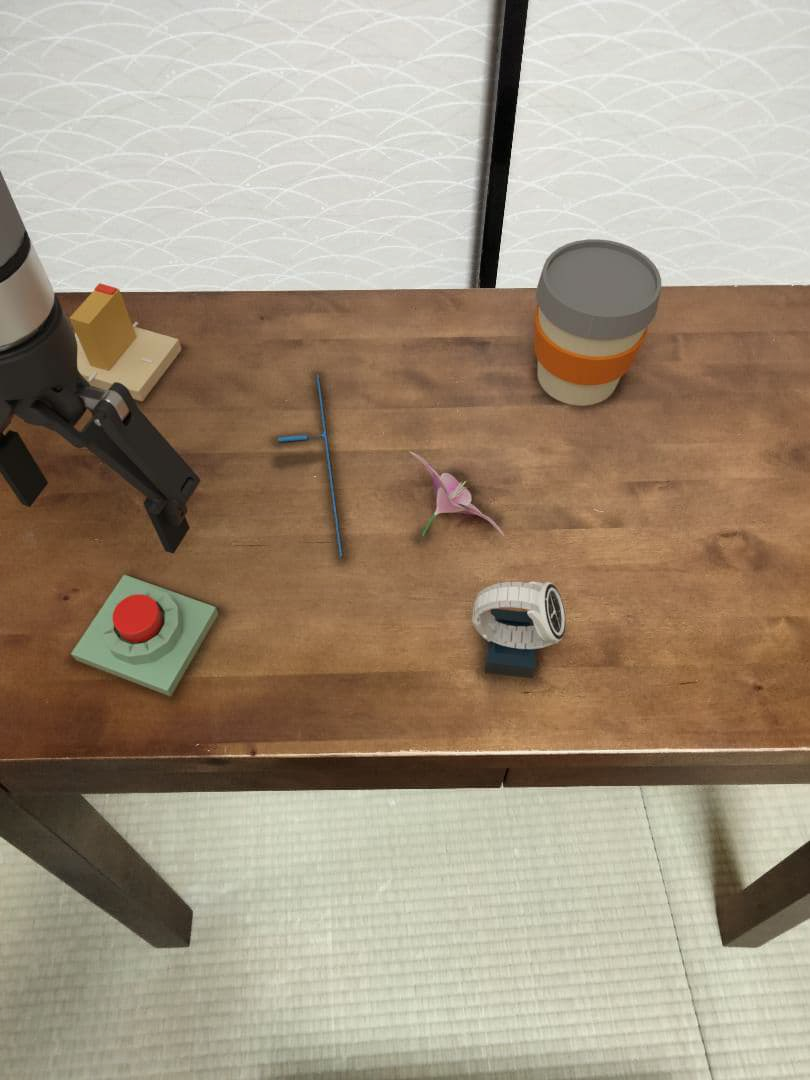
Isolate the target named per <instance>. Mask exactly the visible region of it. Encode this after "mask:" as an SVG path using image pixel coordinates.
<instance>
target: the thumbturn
mask: <svg viewBox="0 0 810 1080" xmlns="http://www.w3.org/2000/svg"><path fill="white" fill-rule="evenodd" d="M69 320H70V324H71V325H72V327H73V328H72V329H73V331H74V333H75V332H76V334H77V337H78V339H79V341H80V343H81V346H82V348H83V350H84V352H85V355H86V357H87V359H88V361H89V364H90V365H91V366H94V367H97V368H101V369H104V370H107V371H109V370H110V369H111V368H112V366H113V365H114V364H115V363H116V361H117V360H118V359H119V358H120V357H121V355H122V354H123V353H124V352H125V350H126V349H127V348H128V347H129V346H130V344H131V343H132V342H133V341H134V339H135V338H136V334H135V331H134V328H133V326H132V325H133V324H132V320H131V318H130V314H129V312H128V310H127V307H126V304H125V301H124V298H123V295H122V293H121V290H120V288H117V287H115V286H111V285H107V284H104V283H101V282H99V283H98V284H97V285H96V286H95V288H94V290H92V292H91V293H90V294H89V296H88V297H87V298H85V300H84V301H83V302H82V303H81V304H80V305H79V306H78V308H77V309H76V310H75V311H74V312H73V313H72V314H71V316H70V317H69Z"/></svg>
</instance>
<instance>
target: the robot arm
mask: <svg viewBox="0 0 810 1080" xmlns="http://www.w3.org/2000/svg"><path fill="white" fill-rule="evenodd" d="M15 203H16V202H15V201H14V198H13V196H12V193H11V192H10V189H9V186H8V184H7V183H6V180H5V178H4V175H3V173H2V171H1V170H0V474H1V475H2V478H4V480H5V481H6V483H7V485H8V486H9V487H10V489H11V490H12V492H13V493H14V495H15V496H16V498H17V499H18V501H19V502H20V503H21V505H22V506H25V507H28V508H31V506H32V505H33V504H34V503H35V501H36V500H37V499H38V498H39V496H40V495H41V494H42V492H43V491H44V489H46V487H47V486H48V484H49V481H48V480H47V478H46V477H45V475H44V473H43V471H42V470H41V469H40V466H39V465H38V463H37V462H36V460H35V458H34V457H33V455H32V453H31V452H30V450H29V448H28V447H27V445H26V444H25V442H24V440H23V439H22V437H21V436H20V434H19V432H18V431H15V430H12V429H9V430H7V432H5V430H6V429H7V428H8V426H10V424H11V423H12V420H13V418H14V416H16V417H18V418H20V419H21V420H23V421H24V423H25V424H29V425H32V426H36V427H37V426H39V427H44V428H45V429H48V430H50V431H53V432H55V433H57V434H58V435H59V436H60V437H62V438H63V439H64V440H66V441H67V443H68V444H71V446H73V447H74V448H76V449H82V448H85V449H87V450H88V451H90V453H92V454H93V455H94V456H96V457H97V458H98V459H100V461H102V462H103V463H104V464H105V465H107V466H108V467H109V468H110V469H112V471H114V472H115V473H116V474H118V475H119V476H120V477H121V478H123V479H124V480H125V481H126V482H127V483H129V484H130V485H131V486H132V487H133V488H134V489H136V490H137V491H138V492H140V493H141V494H142V495H143V496H145V497H146V498H145V500H144V501H143V503H142V505H143V507H144V508H145V510H146V513H147V515H148V517H149V519H150V521H151V523H152V526H153V528H154V530H155V532H156V535H157V536H158V538H159V540H160V543H161V545H162V547H163V549H164V551H165V552H167V553H170V554H173V555H174V554H175V553H176V551H177V549H178V548H179V546H180V545H181V543H182V542H183V540H184V538H185V536H186V535H187V534H188V532H189V531H190V528H191V527H190V525H189V522H188V519H187V517H186V515H187V514H188V506H187V504H188V502H189V501H190V499H191V497H192V496H193V494H194V492H195V491H196V490H197V488H198V487H199V485H200V483H201V478H200V477H199V475H197V473H196V472H195V471H194V470H193V469H192V468H191V467H190V465H189V464H188V463H187V462H186V461H185V460H184V458H183V457H182V456H181V455H180V454H179V453H178V452H177V450H175V449H174V447H173V446H172V445H171V444H170V443H169V441H168V440H167V439H166V438H165V437H164V436H163V435H162V433H161V432H159V430H158V429H157V428H156V427H155V426H154V424H153V423H152V422H151V421H150V419H148V418H147V416H146V415H145V414H144V413H143V412H142V411H141V410H140V409H139V407H138V405H137V403H136V401H135V399H133V397H132V396H131V394H130V392H129V390H128V389H127V388H126V387H125V386H124V385H123V384H121V383H118V382H114V383H113V384H112V385H111V387H110V388H109V389H108V391H106V390H103V389H100V388H96V387H93V386H91V385H90V384H89V382H88V381H87V380H86V379H85V378H84V377H83V376H82V375H81V373H80V372H79V371H78V367H77V351H78V347H77V340H76V337H75V335H74V333H75V331H74V329H73V328H72V326H71V323H70V322H69V319H68V317H67V314H66V312H65V311H64V307H63V305H62V303H61V302H60V300H59V298H58V297H57V295H56V294H55V292H54V289H53V286H52V283H51V281H50V278H49V276H48V275H47V272H46V270H45V268H44V265H43V264H42V261H41V259H40V257H39V255H38V252H37V250H36V249H35V246H34V244H33V242H32V240H31V238H30V236H29V233H28V231H27V228H26V226H25V224H24V221H23V219H22V216H21V215H20V212H19V210H18V208H17V206H16V204H15ZM87 410H88V411H90V413H91V417H90V419H88V421H87V422H86V424H85V425H84V427H83V428H82V429H81V430H80V431H79V430H78V429H77V428H76V427H75V426H76V425H78V423H79V422H80V420H81V419H82V417H83V416H84V414H85V413H86V411H87ZM4 432H5V434H4Z"/></svg>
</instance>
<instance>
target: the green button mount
mask: <svg viewBox="0 0 810 1080" xmlns="http://www.w3.org/2000/svg"><path fill="white" fill-rule="evenodd" d="M138 594H141V595H146V596H149V597H151V598H152V599H153V600H154V601H155V602H156V604H157V606H158V608H159V609H160V611H161V614H162V618H163V621H162V625H161V628H160V630H159V631H158V632H157V634H156V635H155V636H153V637H152V638H150V639H149V640H146V641H143V642H130V641H127V640H125V639H124V638H123V637H122V636H121V635H120V634H119V632H118V630H117V629H116V627H115V626H114V624H113V619H112V617H113V612H114V609H115V608H116V606H117V605H118V604H119V603H120V602H121V601H122V600H123V599H125V598H127V597H129V596H132V595H138ZM218 616H219V611H218V609H217V607H216V606H214V605H211V604H208V603H205V602H203V601H200V600H197V599H194V598H191V597H189V596H187V595H183V594H180V593H177V592H175V591H172V590H169V589H166V588H163V587H161V586H158V585H155V584H152V583H149V582H147V581H144V580H140V579H138V578H135V577H133V576H129V575H128V574H122V576H121V578H120V579H119V581H118V582H117V584H116V585H115V587H114V589H113V590H112V592H111V593H110V595H109V596H108V598H107V599H106V600H105V602H104V604H102V606H101V608H100V609H99V611H98V613H96V615H95V617H94V618H93V620H92V621H91V623H90V624H89V626H88V627H87V629H86V630H85V631H84V633H83V635H82V636H81V638H80V639H79V641H78V643H77V644H76V645H75V646H74V648H73V650H72V651H71V653H70V654H71V656H72V658H73V659H74V660H75V661H77V662H80V663H82V664H85V665H88V666H90V667H93V668H95V669H97V670H101V671H102V672H104V673H105V672H106V673H108V674H111V675H113V676H116V677H119V678H121V679H124V680H127V681H129V682H131V683H134V684H137V685H139V686H142V687H144V688H147V689H150V690H152V691H155V692H157V693H160V694H163V695H165V696H168V697H172V696H173V694H174V693H175V690H176V689H177V687H178V685H179V683H180V682H181V680H182V678H183V677H184V675H185V673H186V671H187V670H188V668H189V666H190V664H191V663H192V661H193V659H194V657H195V655H196V654H197V652H198V650H199V649H200V647H201V645H202V643H203V642H204V640H205V638H206V636H207V635H208V633H209V631H210V630H211V628H212V626H213V625H214V623H215V621H216V620H217V618H218Z"/></svg>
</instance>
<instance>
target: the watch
mask: <svg viewBox="0 0 810 1080" xmlns="http://www.w3.org/2000/svg"><path fill="white" fill-rule="evenodd" d="M502 608H503V609H502ZM504 608H515V609H524V610H527V611H520V610H511V609H504ZM489 610H490V611H489ZM471 618H472V621H471V622H472V624H473V626H474V628H475V630H476V631H477V633H478V634H479V635H480V636H481V638H483V639H484V640H486V652H485V664H484V673H485V674H491V675H492V674H493V675H500V676H508V677H517V678H525V679H533V678H534V675H535V672H536V668H537V650H538V649H544V648H547V647H550V646H552V645H557V644H559V642H560V641H562V640H563V638H564V636H565V632H566V614H565V607H564V602H563V599H562V596H561V593H560V591H559V590H558V588H557V586H556V585H555V584H554V583H553V582H552V581H545V582H544V583H543V582H539V581H535V580H531V581H528V582H523V581H504V582H497V583H494V584H491V585H489V586H486V587H485V588H483V589H481V590H480V591H479V592H478V593H477V594H476V596H475V600H474V601H473V607H472V617H471Z"/></svg>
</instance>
